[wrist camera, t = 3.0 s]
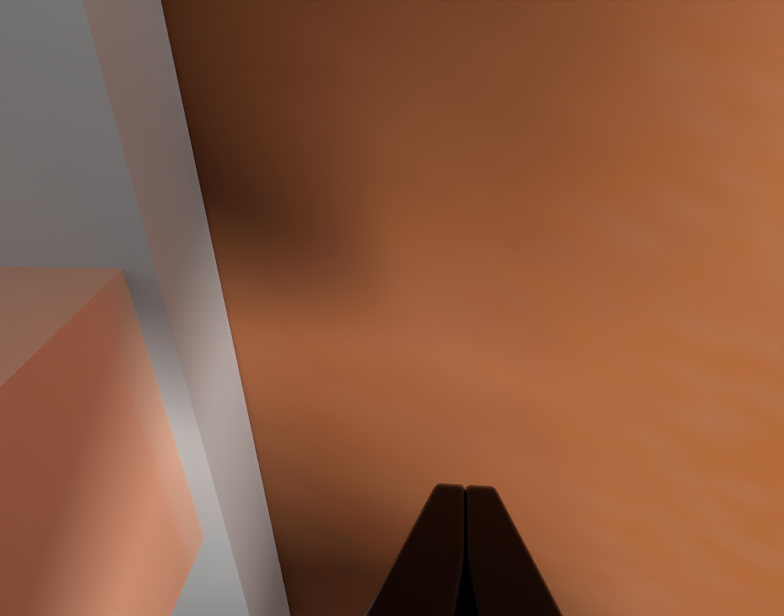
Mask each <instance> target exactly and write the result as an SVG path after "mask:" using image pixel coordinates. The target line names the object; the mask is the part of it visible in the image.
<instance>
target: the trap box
mask: <svg viewBox="0 0 784 616" xmlns="http://www.w3.org/2000/svg"><path fill="white" fill-rule="evenodd" d="M0 266H10V267H64V268H118V269H123V271H124V275H125V278H126V281H127V285H128V288H129V291H130V294H131V298H132V301H133V304H134V308H135V311H136V314H137V318H138V321H139V324H140V327H141V331H142V334H143V337H144V341H145V344H146V347H147V350H148V354H149V357H150V360H151V364H152V367H153V370H154V373H155V377H156V380H157V383H158V387H159V390H160V393H161V397H162V400H163V403H164V406H165V410H166V413H167V416H168V420H169V423H170V426H171V429H172V433H173V436H174V439H175V443H176V446H177V449H178V453H179V456H180V459H181V462H182V466H183V469H184V472H185V476H186V479H187V482H188V485H189V489H190V492H191V495H192V499H193V502H194V505H195V508H196V512H197V515H198V518H199V522H200V525H201V528H202V532H203V535H204V540H203V542H202V545H201V547H200V549H199V551H198V554H197V556H196V558H195V561H194V563H193V565H192V568H191V570H190V572H189V574H188V577H187V579H186V581H185V584H184V586H183V588H182V591H181V593H180V595H179V598H178V600H177V602H176V604H175V607H174V609H173V611H172V614H171V616H290V611H289V606H288V602H287V597H286V592H285V587H284V583H283V578H282V573H281V568H280V564H279V559H278V554H277V549H276V545H275V540H274V535H273V530H272V526H271V521H270V516H269V511H268V507H267V502H266V497H265V492H264V488H263V483H262V478H261V473H260V469H259V464H258V459H257V454H256V450H255V445H254V440H253V436H252V431H251V426H250V421H249V417H248V412H247V407H246V402H245V398H244V393H243V388H242V383H241V379H240V374H239V369H238V364H237V360H236V355H235V350H234V345H233V341H232V336H231V331H230V326H229V322H228V317H227V312H226V307H225V303H224V298H223V293H222V288H221V284H220V279H219V274H218V269H217V265H216V260H215V255H214V250H213V246H212V241H211V236H210V232H209V227H208V222H207V217H206V213H205V208H204V203H203V198H202V194H201V189H200V184H199V179H198V175H197V170H196V165H195V160H194V156H193V151H192V146H191V141H190V137H189V132H188V127H187V122H186V118H185V113H184V108H183V103H182V99H181V94H180V89H179V84H178V80H177V75H176V70H175V65H174V61H173V56H172V51H171V46H170V42H169V37H168V32H167V28H166V23H165V18H164V13H163V9H162V4H161V0H0Z"/></svg>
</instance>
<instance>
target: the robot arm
mask: <svg viewBox="0 0 784 616" xmlns="http://www.w3.org/2000/svg"><path fill="white" fill-rule="evenodd" d="M365 616H563V615H562V613H561V611H560V609H559V607H558V605H557V604H556V602H555V600H554V598H553V596H552V594H551V592H550V590H549V588H548V587H547V585H546V583H545V581H544V579H543V577H542V575H541V573H540V571H539V570H538V568H537V566H536V564H535V562H534V560H533V558H532V556H531V555H530V553H529V551H528V549H527V547H526V545H525V543H524V541H523V539H522V538H521V536H520V534H519V532H518V530H517V528H516V526H515V524H514V522H513V521H512V519H511V517H510V515H509V513H508V511H507V509H506V507H505V505H504V504H503V502H502V500H501V498H500V496H499V494H498V492H497V491H496V490H495V488H493V487H491V486H477V485H469V486H467V487H466V489H465V488H464V487H463V486H462V485H459V484H442V483H441V484H437V485H436V486H435V487H434V489H433V490H432V492H431V494H430V496H429V498H428V500H427V501H426V503H425V505H424V507H423V509H422V511H421V513H420V514H419V516H418V518H417V520H416V522H415V524H414V525H413V527H412V529H411V531H410V533H409V535H408V537H407V538H406V540H405V542H404V544H403V546H402V548H401V550H400V551H399V553H398V555H397V557H396V559H395V561H394V562H393V564H392V566H391V568H390V570H389V572H388V574H387V575H386V577H385V579H384V581H383V583H382V585H381V587H380V588H379V590H378V592H377V594H376V596H375V598H374V599H373V601H372V603H371V605H370V607H369V609H368V611H367V612H366V614H365Z"/></svg>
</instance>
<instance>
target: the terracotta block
mask: <svg viewBox="0 0 784 616" xmlns="http://www.w3.org/2000/svg"><path fill="white" fill-rule="evenodd" d="M203 540H204V535H203V532H202V528H201V525H200V522H199V518H198V515H197V512H196V508H195V505H194V502H193V499H192V495H191V492H190V489H189V485H188V482H187V479H186V476H185V472H184V469H183V466H182V462H181V459H180V456H179V453H178V449H177V446H176V443H175V439H174V436H173V433H172V429H171V426H170V423H169V420H168V416H167V413H166V410H165V406H164V403H163V400H162V397H161V393H160V390H159V387H158V383H157V380H156V377H155V373H154V370H153V367H152V364H151V360H150V357H149V354H148V350H147V347H146V344H145V341H144V337H143V334H142V331H141V327H140V324H139V321H138V318H137V314H136V311H135V308H134V304H133V301H132V298H131V294H130V291H129V288H128V285H127V281H126V278H125V275H124V271H123V269H118V268H64V267H10V266H0V616H171V614H172V611H173V609H174V607H175V604H176V602H177V600H178V598H179V595H180V593H181V591H182V588H183V586H184V584H185V581H186V579H187V577H188V574H189V572H190V570H191V568H192V565H193V563H194V561H195V558H196V556H197V554H198V551H199V549H200V547H201V545H202V542H203Z"/></svg>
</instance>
